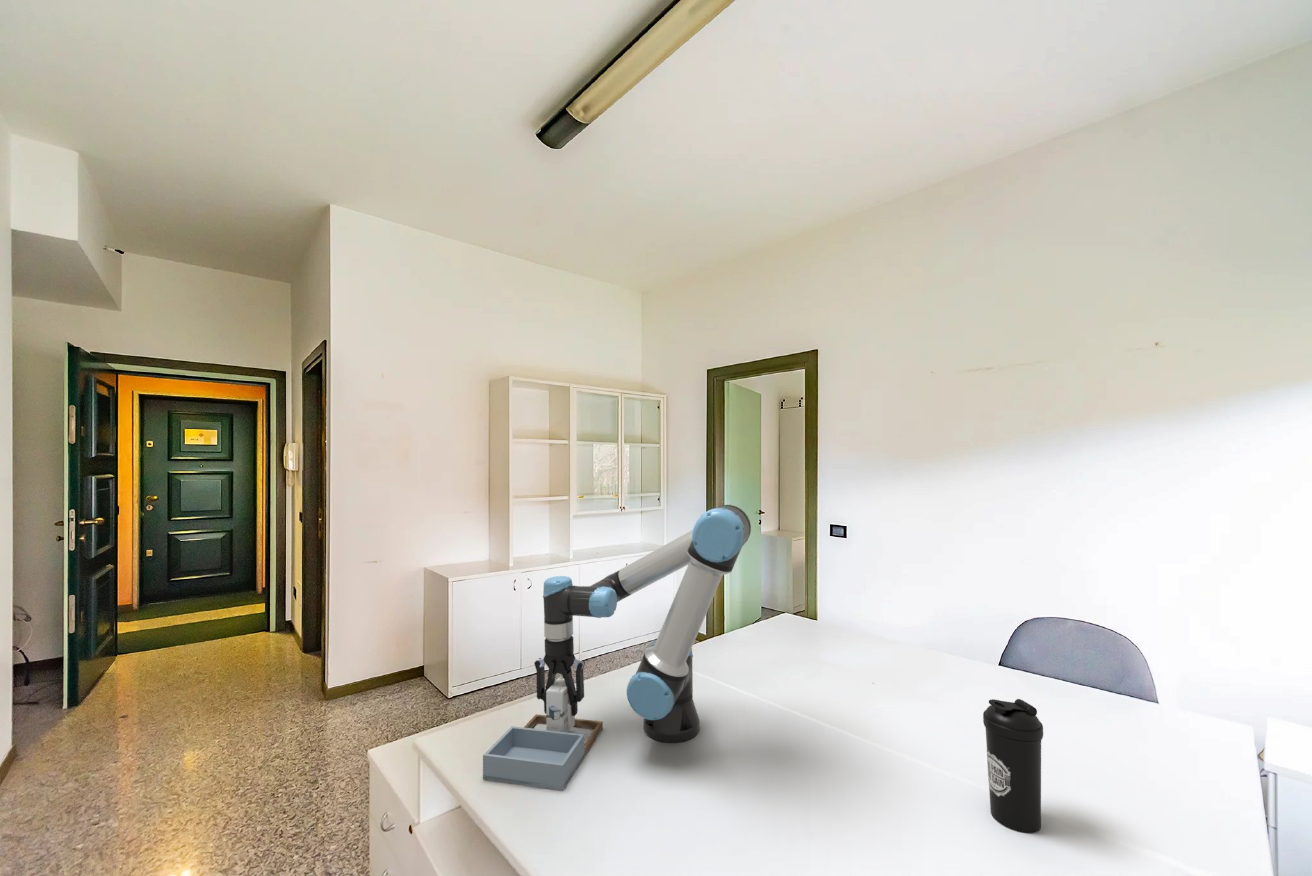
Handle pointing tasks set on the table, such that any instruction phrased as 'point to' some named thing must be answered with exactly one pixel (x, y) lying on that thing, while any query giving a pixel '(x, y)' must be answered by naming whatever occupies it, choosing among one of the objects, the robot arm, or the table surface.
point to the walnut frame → (578, 724)
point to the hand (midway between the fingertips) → (561, 726)
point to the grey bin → (534, 758)
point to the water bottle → (1014, 764)
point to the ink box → (557, 706)
